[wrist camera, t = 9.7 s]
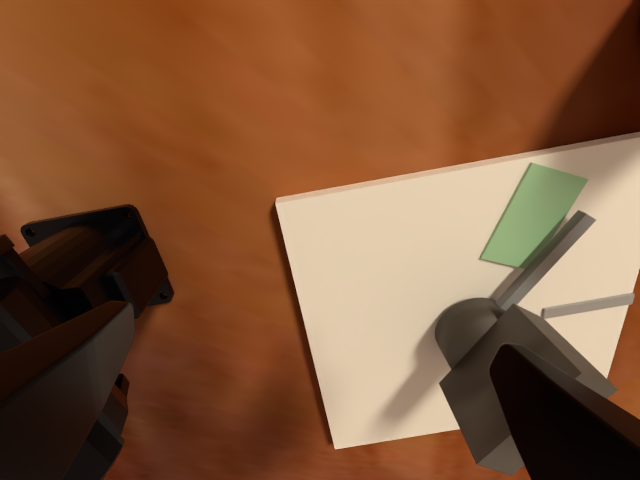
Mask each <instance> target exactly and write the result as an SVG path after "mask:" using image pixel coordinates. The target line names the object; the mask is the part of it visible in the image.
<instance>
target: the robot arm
mask: <svg viewBox="0 0 640 480" xmlns="http://www.w3.org/2000/svg"><path fill="white" fill-rule="evenodd" d="M125 211H128V212H129V213H130V214H131V217H129V216H127V215H126V214H125ZM31 229H32V230H34V231H35V233H33V232H32V231H31ZM21 234H22V235H23V237H24V239H25V240H26V242H27V243H28V245H29V247H30V248H28V249H27V250H25V251H23V252H22V253H20V254H18V253H17V252H16V251H15V250H14V249H13V248H12V247H13V246H15V245H14V244H13V243H12V241H11V240H10V239H9V238H8V237H7V236H6V234H3V235H1V236H0V480H103V478H104V477H105V475H106V474H107V472H108V471H109V470H110V469H111V467H112V465H113V464H114V462H115V460H116V458H117V457H118V455H119V453H120V452H121V449H122V447H123V444H124V439H123V438H122V437H121V436H120V435H121V433H122V430H123V427H124V424H125V421H126V417H127V414H128V405H127V393H128V387H129V381H128V379H127V378H126V377H125V376H124V375H123V374H119V372H120V370H121V367H122V365H123V363H124V361H125V358H126V356H127V354H128V352H129V349H130V347H131V345H132V343H133V340H134V336H135V323H134V319H136V318H138V317H139V316H140V315H141V313H142V312H143V311H144V309H145V308H146V306H149V305H155V304H161V303H166V302H169V301H170V300H171V299H172V297H173V295H174V291H173V289H172V286H171V284H170V282H169V280H168V277H167V276H168V272H167V270H166V267H165V265H164V263H163V261H162V258H161V256H160V254H159V251H158V249H157V247H156V245H155V242H154V240H153V239H152V238H151V237H150V236H149V234H148V232H147V230H146V227H145V225H144V223H143V220H142V218H141V216H140V214H139V211H138V210H137V208H136V207H134V206H133V205H130V204H125V205H120V206H115V207H109V208H104V209H98V210H93V211H87V212H82V213H76V214H71V215H66V216H60V217H55V218H49V219H44V220H38V221H33V222H29V223H27V224H25V225H23V226H22V227H21ZM162 293H166V294H167V295H168V296H165V295H163V294H162ZM489 375H490V378H491V381H492V384H493V387H494V389H495V392H496V395H497V398H498V401H499V403H500V406H501V409H502V412H503V415H504V417H505V420H506V423H507V426H508V428H509V431H510V433H511V436H512V438H513V441H514V443H515V445H516V448H517V450H518V452H519V454H520V456H521V458H522V461H523V463H524V465H525V467H526V469H527V471H528V474H529V476H530V478H531V480H640V420H639V419H638V418H636V417H635V416H633V415H631V414H630V413H628V412H627V411H625V410H624V409H622V408H620V407H619V406H617V405H616V404H614V403H612V402H611V401H609V400H608V399H606V398H605V397H603V396H601V395H600V394H598V393H597V392H595V391H593V390H592V389H590V388H589V387H587V386H585V385H584V384H582V383H581V382H579V381H578V380H576V379H574V378H573V377H571V376H570V375H568V374H566V373H565V372H563V371H562V370H560V369H559V368H557V367H555V366H554V365H552V364H551V363H549V362H547V361H546V360H544V359H543V358H541V357H539V356H538V355H536V354H535V353H533V352H532V351H530V350H528V349H527V348H525V347H524V346H522V345H520V344H514V343H503V344H502V345H500V347H499V349H498V351H497V352H496V354H495V356H494V358H493V360H492V362H491V364H490V366H489Z"/></svg>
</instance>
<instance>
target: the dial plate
mask: <svg viewBox="0 0 640 480" xmlns="http://www.w3.org/2000/svg"><path fill="white" fill-rule="evenodd" d="M275 205H276V209H277V213H278V217H279V221H280V225H281V229H282V234H283V238H284V242H285V246H286V250H287V254H288V258H289V262H290V266H291V271H292V275H293V279H294V283H295V287H296V291H297V295H298V299H299V304H300V308H301V312H302V316H303V320H304V324H305V328H306V332H307V336H308V341H309V345H310V349H311V353H312V357H313V361H314V365H315V369H316V373H317V378H318V382H319V386H320V390H321V394H322V398H323V402H324V406H325V411H326V415H327V419H328V423H329V427H330V431H331V435H332V439H333V443H334V448H335V449H341V448H347V447H353V446H359V445H365V444H371V443H377V442H383V441H389V440H395V439H401V438H408V437H414V436H420V435H426V434H432V433H438V432H444V431H450V430H456V429H460V428H459V426H458V423H457V421H456V419H455V417H454V415H453V413H452V411H451V408H450V406H449V404H448V402H447V400H446V398H445V396H444V393H443V391H442V389H441V387H440V385H439V382H440V381H441V380H442V379H443V378H444V377H445V376H446V375H447V374H448V373H449V372H450V371H451V368H450V366H449V365H448V363H447V361H446V359H445V357H444V355H443V353H442V351H441V350H440V348H439V346H438V344H437V342H436V339H435V329H436V325H437V323H438V321H439V319H440V318H441V316H442V315H443V314H444V313H445V312H446V311H447V310H448V309H449V308H451V307H452V306H454V305H455V304H457V303H459V302H462V301H464V300H467V299H471V298H490V299H493V300H497V299H498V298H499V297H500V296H501V295H502V294H503V293H504V292H505V291H506V289H507V288H508V287H509V286H510V285H511V284H512V283H513V282H514V281H515V279H516V278H517V277H518V276H519V275H520V274H521V273H522V272H523V271H524V269H525V268H526V267H527V266H528V265H529V264H530V263H531V262H532V261H533V259H534V258H535V257H536V256H537V255H538V254H539V253H540V252H541V251H542V249H543V248H544V247H545V246H546V245H547V244H548V243H549V242H550V241H551V239H552V238H553V237H554V236H555V235H556V234H557V233H558V232H559V231H560V230H561V228H562V227H563V226H564V225H565V224H566V223H567V222H568V221H569V220H570V218H571V217H572V216H573V215H574V214H575V213H576V212H577V211H578V210H580V211H582V212H584V213H586V214H588V215H589V216H591V217H593V218H594V219H596V221H595V222H594V223H593V224H592V225H591V226H590V227H589V229H588V230H587V231H586V232H585V233H584V234H583V235H582V236H581V237H580V238H579V239H578V240H577V241H576V242H575V243H574V245H573V246H572V247H571V248H570V249H569V250H568V251H567V252H566V253H565V254H564V255H563V256H562V257H561V258H560V259H559V261H558V262H557V263H556V264H555V265H554V266H553V267H552V268H551V269H550V270H549V271H548V272H547V273H546V274H545V275H544V277H543V278H542V279H541V280H540V281H539V282H538V283H537V284H536V285H535V286H534V287H533V288H532V289H531V290H530V291H529V293H528V294H527V295H526V296H525V297H524V298H523V299H522V300H521V301H520V302H519V303H518V304H517V305H518V306H520V307H522V308H524V309H526V310H528V311H530V312H532V313H534V314H536V315H538V316H540V317H542V318H544V319H545V320H546V321H547V322H548V323H549V324H550V325H551V326H552V327H553V328H554V329H555V330H556V331H557V332H558V333H559V334H560V335H561V336H563V337H564V338H565V339H566V340H567V341H568V342H569V343H570V344H571V345H572V346H573V347H574V348H575V349H576V350H577V351H578V352H579V353H580V354H581V355H582V356H583V357H585V358H586V359H587V360H588V361H589V362H590V363H591V364H592V365H593V366H594V367H595V368H596V369H597V370H598V371H599V372H600V373H601V374H602V375H603V376H604V377H605V378H606V379H607V376H608V373H609V370H610V366H611V363H612V359H613V356H614V353H615V349H616V346H617V343H618V339H619V336H620V333H621V329H622V326H623V323H624V319H625V316H626V312H627V309H628V306H629V304H632V303H633V300H634V297H635V294H634V293H632V292H633V289H634V286H635V282H636V279H637V276H638V272H639V269H640V132H635V133H630V134H624V135H619V136H614V137H608V138H603V139H597V140H592V141H586V142H581V143H575V144H570V145H564V146H559V147H553V148H548V149H542V150H537V151H531V152H526V153H520V154H515V155H509V156H504V157H498V158H493V159H487V160H482V161H476V162H471V163H465V164H460V165H454V166H449V167H443V168H438V169H432V170H427V171H421V172H416V173H411V174H405V175H400V176H394V177H389V178H383V179H378V180H372V181H367V182H361V183H356V184H350V185H345V186H339V187H334V188H328V189H323V190H317V191H312V192H306V193H301V194H295V195H290V196H284V197H279V198H276V202H275Z"/></svg>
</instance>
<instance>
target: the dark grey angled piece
mask: <svg viewBox="0 0 640 480" xmlns="http://www.w3.org/2000/svg"><path fill="white" fill-rule="evenodd" d="M595 221H596V219H594V218H593V217H591V216H589V215H588V214H586V213H584V212H582V211H580V210H578V211H577V212H576V213H575V214H574V215H573V216H572V217H571V218H570V220H569V221H568V222H567V223H566V224H565V225H564V226H563V227H562V228H561V230H560V231H559V232H558V233H557V234H556V235H555V236H554V237H553V238H552V239H551V241H550V242H549V243H548V244H547V245H546V246H545V247H544V248H543V249H542V251H541V252H540V253H539V254H538V255H537V256H536V257H535V258H534V259H533V261H532V262H531V263H530V264H529V265H528V266H527V267H526V268H525V269H524V271H523V272H522V273H521V274H520V275H519V276H518V277H517V278H516V279H515V281H514V282H513V283H512V284H511V285H510V286H509V287H508V288H507V289H506V291H505V292H504V293H503V294H502V295H501V296H500V297H499V298H498V299H497V300H493V299H490V298H471V299H467V300H464V301H462V302H459V303H457V304H455V305H454V306H452V307H451V308H449V309H448V310H447V311H446V312H445V313H444V314H443V315H442V316H441V318H440V319H439V321H438V323H437V325H436V329H435V339H436V342H437V344H438V346H439V348H440V350H441V351H442V353H443V355H444V357H445V359H446V361H447V363H448V365H449V366H450V368H451V371H450V372H449V373H448V374H447V375H446V376H445V377H444V378H443V379H442V380H441V381H440V382H439V385H440V387H441V389H442V391H443V393H444V396H445V398H446V400H447V402H448V404H449V406H450V408H451V411H452V413H453V415H454V417H455V419H456V421H457V423H458V426H459V428H460V430H461V432H462V434H463V436H464V438H465V441H466V443H467V445H468V447H469V449H470V451H471V453H472V456H473V458H474V460H475V462H476V464H477V465H480V466H483V467H486V468H489V469H492V470H495V471H499V472H502V473H505V474H508V475H513V474H514V473H515V472H516V471H518V470H519V469H520V468H521V467H523V466H524V463H523V461H522V458H521V456H520V454H519V452H518V450H517V448H516V445H515V443H514V441H513V438H512V436H511V433H510V431H509V428H508V426H507V423H506V420H505V417H504V415H503V412H502V409H501V406H500V403H499V401H498V398H497V395H496V392H495V389H494V387H493V384H492V381H491V378H490V375H489V366H490V364H491V362H492V360H493V358H494V356H495V354H496V352H497V351H498V349H499V347H500V345H502V344H503V343H514V344H520V345H522V346H524V347H525V348H527V349H528V350H530V351H532V352H533V353H535V354H536V355H538V356H539V357H541V358H543V359H544V360H546V361H547V362H549V363H551V364H552V365H554V366H555V367H557V368H559V369H560V370H562V371H563V372H565V373H566V374H568V375H570V376H571V377H573V378H574V379H576V380H578V381H579V382H581V383H582V384H584V385H585V386H587V387H589V388H590V389H592V390H593V391H595V392H597V393H598V394H600V395H601V396H603V397H605V398H606V399H607V398H608V397H609V396H611V395H612V394H613V393H614V392H616V391H617V390H618V389H617V388H616V387H615V386H614V385H613V384H612V383H611V382H610V381H609V380H608V379H606V378H605V377H604V376H603V375H602V374H601V373H600V372H599V371H598V370H597V369H596V368H595V367H594V366H593V365H592V364H591V363H590V362H589V361H588V360H587V359H586V358H585V357H583V356H582V355H581V354H580V353H579V352H578V351H577V350H576V349H575V348H574V347H573V346H572V345H571V344H570V343H569V342H568V341H567V340H566V339H565V338H564V337H563V336H561V335H560V334H559V333H558V332H557V331H556V330H555V329H554V328H553V327H552V326H551V325H550V324H549V323H548V322H547V321H546V320H545V319H544V318H542V317H540V316H538V315H536V314H534V313H532V312H530V311H528V310H526V309H524V308H522V307H520V306H518V305H517V304H518V303H519V302H520V301H521V300H522V299H523V298H524V297H525V296H526V295H527V294H528V293H529V291H530V290H531V289H532V288H533V287H534V286H535V285H536V284H537V283H538V282H539V281H540V280H541V279H542V278H543V277H544V275H545V274H546V273H547V272H548V271H549V270H550V269H551V268H552V267H553V266H554V265H555V264H556V263H557V262H558V261H559V259H560V258H561V257H562V256H563V255H564V254H565V253H566V252H567V251H568V250H569V249H570V248H571V247H572V246H573V245H574V243H575V242H576V241H577V240H578V239H579V238H580V237H581V236H582V235H583V234H584V233H585V232H586V231H587V230H588V229H589V227H590V226H591V225H592V224H593V223H594V222H595Z"/></svg>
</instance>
